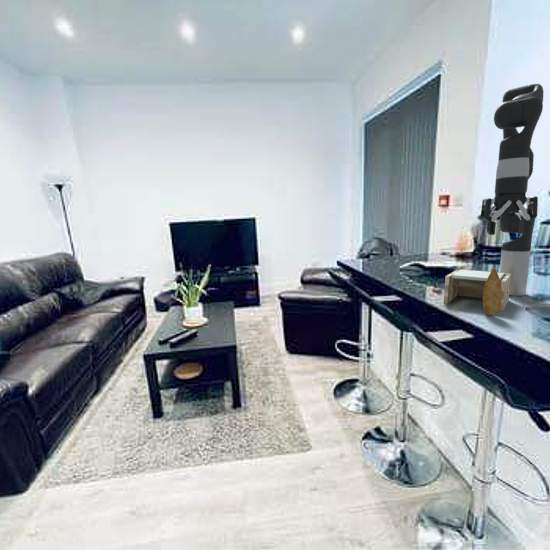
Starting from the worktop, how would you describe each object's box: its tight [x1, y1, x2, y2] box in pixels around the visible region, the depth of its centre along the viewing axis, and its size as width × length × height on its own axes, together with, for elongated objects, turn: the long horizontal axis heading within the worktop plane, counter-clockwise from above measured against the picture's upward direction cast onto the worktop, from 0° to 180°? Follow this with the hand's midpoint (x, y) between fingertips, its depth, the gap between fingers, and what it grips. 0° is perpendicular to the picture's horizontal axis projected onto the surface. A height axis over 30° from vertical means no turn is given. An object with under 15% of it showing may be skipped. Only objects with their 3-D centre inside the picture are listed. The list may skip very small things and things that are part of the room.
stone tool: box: [482, 268, 502, 316], centre depth 105 cm, size 5×2×15 cm, turn 52°
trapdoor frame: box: [443, 269, 511, 312], centre depth 121 cm, size 17×18×10 cm
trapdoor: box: [452, 269, 504, 281], centre depth 120 cm, size 15×14×1 cm
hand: (506, 234), depth 97 cm, fingers open, 8 cm apart
